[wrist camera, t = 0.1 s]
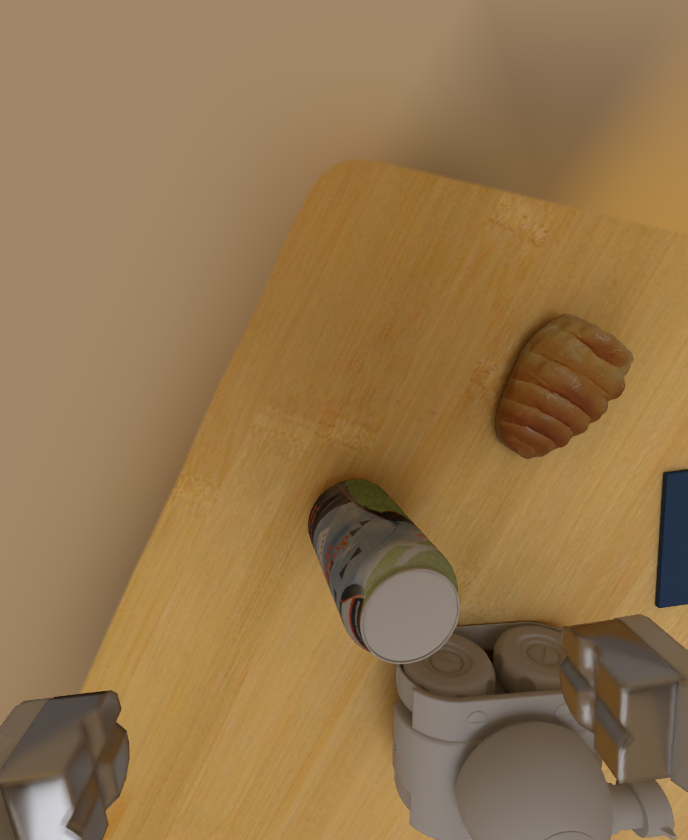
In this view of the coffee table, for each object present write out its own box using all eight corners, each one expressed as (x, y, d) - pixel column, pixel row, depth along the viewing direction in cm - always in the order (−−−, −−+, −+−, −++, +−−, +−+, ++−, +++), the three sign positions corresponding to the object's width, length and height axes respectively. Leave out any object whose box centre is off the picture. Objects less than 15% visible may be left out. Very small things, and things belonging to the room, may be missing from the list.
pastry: (541, 469, 33) (571, 488, 29) (466, 421, 32) (487, 434, 28) (622, 357, 32) (663, 362, 28) (546, 303, 31) (580, 300, 27)
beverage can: (302, 481, 32) (302, 574, 20) (407, 465, 32) (468, 547, 21) (314, 563, 33) (322, 696, 21) (415, 547, 34) (477, 668, 22)
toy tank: (574, 614, 36) (722, 773, 23) (562, 729, 38) (691, 931, 26) (382, 627, 35) (429, 802, 22) (381, 745, 37) (423, 965, 24)
